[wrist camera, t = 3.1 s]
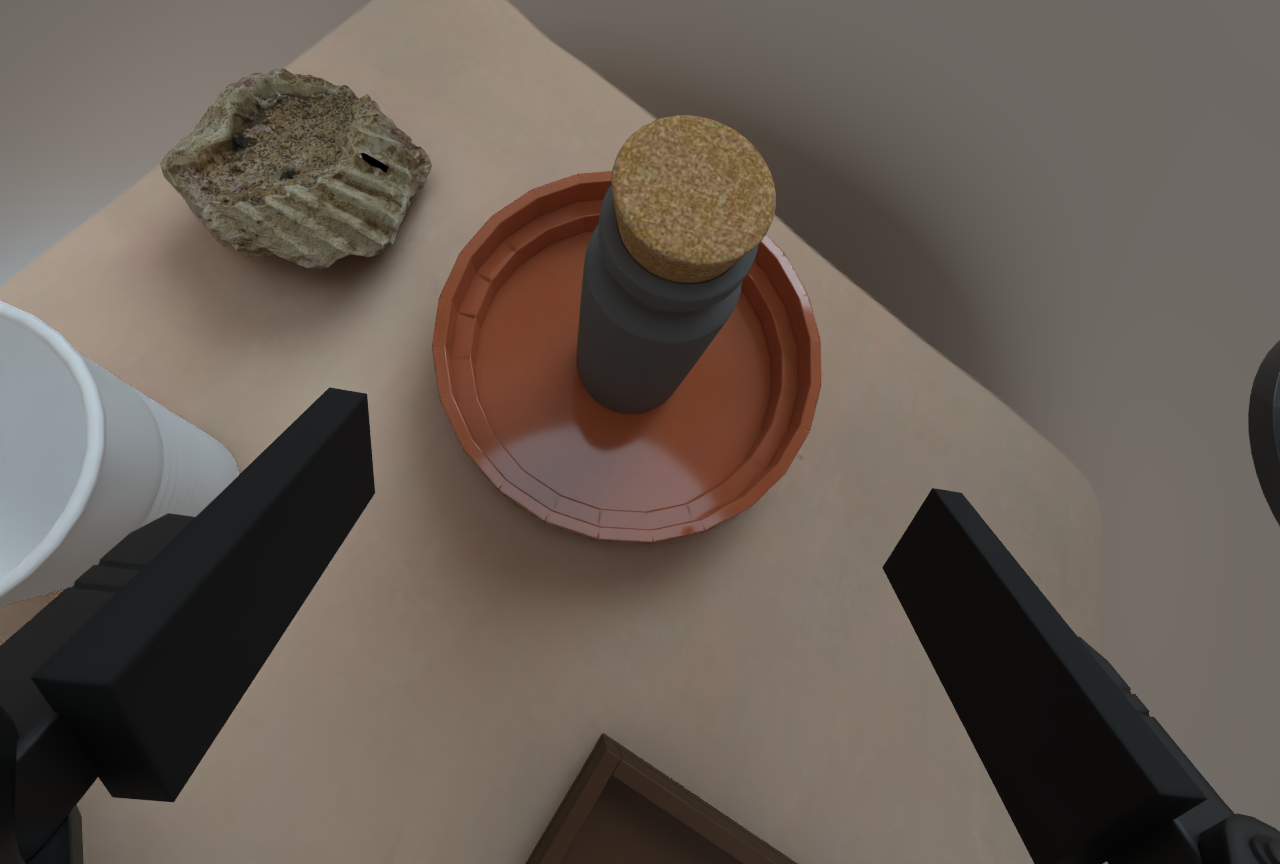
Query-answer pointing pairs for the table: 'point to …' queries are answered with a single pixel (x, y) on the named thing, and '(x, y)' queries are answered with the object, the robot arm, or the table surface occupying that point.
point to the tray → (642, 820)
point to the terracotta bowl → (586, 430)
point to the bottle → (668, 257)
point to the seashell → (297, 170)
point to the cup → (84, 460)
